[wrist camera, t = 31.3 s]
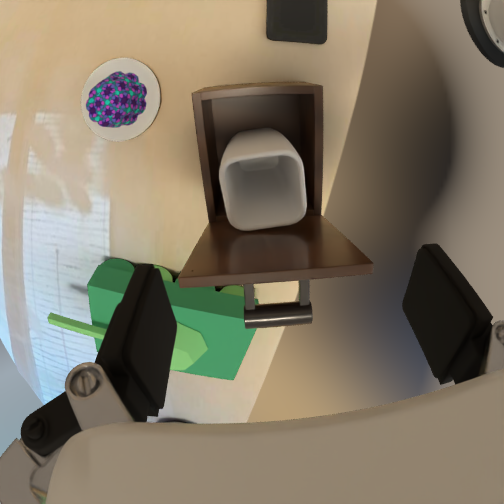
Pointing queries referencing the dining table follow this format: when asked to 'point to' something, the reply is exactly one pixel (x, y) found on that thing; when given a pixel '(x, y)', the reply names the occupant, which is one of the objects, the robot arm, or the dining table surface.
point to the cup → (262, 181)
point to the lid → (273, 264)
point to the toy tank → (187, 317)
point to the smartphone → (297, 20)
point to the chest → (255, 117)
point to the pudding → (120, 99)
